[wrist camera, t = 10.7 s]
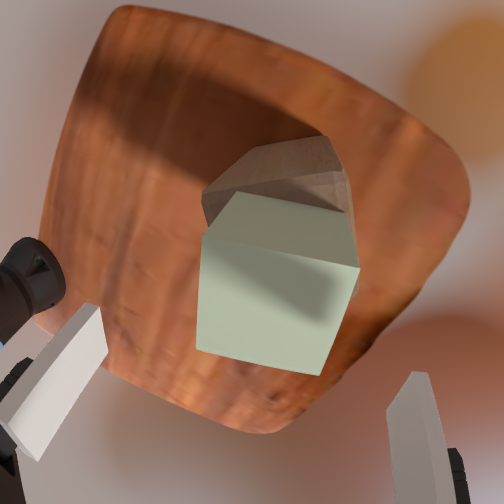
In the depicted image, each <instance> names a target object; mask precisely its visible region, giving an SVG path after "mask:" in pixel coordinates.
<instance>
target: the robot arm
mask: <svg viewBox="0 0 504 504" xmlns="http://www.w3.org/2000/svg"><path fill="white" fill-rule="evenodd" d="M65 289H66V286H65V279H64V275H63V272H62V270H61V267H60V265H59V263H58V261H57V260H56V258H55V257H54V255H53V254H52V253H51V251H50V250H49V249H48V248H47V247H46V246H45V245H44V244H43V243H41V242H40V241H38V240H36V239H34V238H31V237H25V238H22V239H20V240H19V241H17V242H16V243H15V244H14V245H13V246H12V247H11V249H10V251H9V252H8V253H7V255H6V256H5V257H4V259H3V260H2V262H1V263H0V349H2V348H3V347H4V345H5V344H6V343H7V342H8V341H9V340H10V339H11V338H12V336H13V335H14V334H15V333H16V332H17V331H18V330H19V329H20V328H21V327H22V326H23V325H24V324H25V323H26V322H27V321H28V320H29V319H30V318H31V317H32V316H33V315H35V314H38V313H40V312H42V311H45V310H47V309H49V308H52V307H54V306H55V305H57V304H58V303H59V302H60V301H61V300H62V298H63V297H64V295H65ZM107 354H108V348H107V344H106V339H105V334H104V329H103V323H102V318H101V312H100V307H99V306H95V305H92V304H89V303H86V302H85V303H84V304H83V305H82V306H81V307H80V308H79V309H78V311H77V312H76V313H75V314H74V315H73V316H72V317H71V318H70V319H69V321H68V322H67V323H66V324H65V325H64V326H63V327H62V328H61V330H60V331H59V332H58V333H57V334H56V335H55V336H54V338H53V339H52V340H51V341H50V342H49V343H48V344H47V346H46V347H45V348H44V349H43V350H42V352H41V353H40V354H39V355H38V356H37V357H36V359H35V360H32V359H30V358H28V357H27V358H25V359H24V360H22V361H20V362H19V363H17V364H16V365H15V367H14V368H13V369H12V370H11V372H10V374H8V375H7V376H6V377H5V379H4V381H2V382H1V384H0V504H26V501H25V496H24V492H23V488H22V482H21V477H20V472H19V466H18V460H17V454H16V451H15V449H16V447H17V446H18V447H19V448H20V449H21V450H22V452H23V453H25V454H26V455H28V456H29V457H31V458H33V459H34V460H36V461H39V459H40V457H41V456H42V454H43V453H44V451H45V449H46V447H47V446H48V444H49V443H50V441H51V439H52V438H53V436H54V435H55V433H56V431H57V430H58V428H59V427H60V425H61V423H62V422H63V420H64V419H65V417H66V415H67V414H68V412H69V411H70V409H71V408H72V406H73V404H74V403H75V401H76V400H77V398H78V397H79V395H80V394H81V392H82V391H83V389H84V388H85V386H86V385H87V383H88V382H89V380H90V379H91V377H92V375H93V374H94V373H95V371H96V370H97V368H98V367H99V365H100V364H101V362H102V361H103V359H104V358H105V356H106V355H107ZM386 416H387V423H388V432H389V440H390V449H391V459H392V471H393V483H394V499H395V504H471V502H470V496H469V490H468V485H467V481H466V474H465V472H464V470H465V469H464V465H463V460H462V457H461V456H460V454H459V452H458V451H457V449H456V448H448V449H447V447H446V442H445V438H444V433H443V429H442V425H441V420H440V416H439V413H438V409H437V405H436V401H435V398H434V394H433V390H432V387H431V383H430V380H429V376H428V373H424V372H412V373H411V374H410V376H409V377H408V379H407V380H406V382H405V383H404V385H403V386H402V388H401V390H400V391H399V393H398V394H397V395H396V397H395V398H394V400H393V401H392V403H391V404H390V405H389V407H388V408H387V410H386Z"/></svg>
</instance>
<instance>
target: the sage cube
mask: <svg viewBox="0 0 504 504" xmlns="http://www.w3.org/2000/svg"><path fill="white" fill-rule="evenodd" d="M360 269H361V268H360V264H359V260H358V256H357V252H356V248H355V244H354V240H353V236H352V232H351V229H350V225H349V221H348V218H347V214H346V213H342V212H338V211H333V210H329V209H324V208H319V207H315V206H310V205H305V204H300V203H295V202H291V201H286V200H281V199H275V198H270V197H265V196H260V195H255V194H249V193H244V192H239V191H237V192H236V193H235V194H234V195H233V197H232V198H231V199H230V201H229V202H228V203H227V204H226V206H225V207H224V208H223V210H222V211H221V212H220V213H219V215H218V216H217V217H216V219H215V220H214V221H213V223H212V224H211V225H210V227H209V228H208V229H207V231H206V232H205V233H204V234H203V236H202V248H201V262H200V277H199V294H198V312H197V333H196V349H197V350H201V351H205V352H209V353H212V354H216V355H221V356H225V357H229V358H233V359H237V360H242V361H246V362H251V363H255V364H260V365H265V366H270V367H274V368H279V369H285V370H290V371H295V372H301V373H306V374H312V375H318V376H319V375H320V373H321V370H322V368H323V366H324V363H325V361H326V359H327V356H328V354H329V351H330V349H331V347H332V344H333V342H334V339H335V337H336V334H337V332H338V329H339V326H340V324H341V321H342V319H343V316H344V313H345V311H346V308H347V305H348V303H349V300H350V297H351V294H352V292H353V289H354V286H355V283H356V280H357V277H358V274H359V271H360Z"/></svg>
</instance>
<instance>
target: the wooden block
mask: <svg viewBox="0 0 504 504" xmlns="http://www.w3.org/2000/svg"><path fill="white" fill-rule="evenodd" d="M237 191H239V192H244V193H249V194H255V195H260V196H265V197H270V198H275V199H281V200H286V201H291V202H295V203H300V204H305V205H310V206H315V207H319V208H324V209H329V210H333V211H338V212H342V213H346V214H347V218H348V221H349V225H350V229H351V232H352V236H353V240H354V244H355V248H356V252H357V256H358V251H357V240H356V231H355V221H354V213H353V204H352V197H351V189H350V182H349V177H348V175H347V173H346V171H345V168H344V166H343V164H342V162H341V160H340V158H339V156H338V154H337V152H336V150H335V148H334V146H333V144H332V142H331V141H330V139H329V138H328V137H327V136H323V135H320V136H313V137H307V138H301V139H295V140H289V141H283V142H278V143H272V144H267V145H262V146H257V147H254V148H252V149H251V150H249V151H248V152H247V153H246V154H245V155H243V156H242V157H241V158H240V159H239V160H238V161H236V162H235V163H234V164H233V165H232V166H231V167H229V168H228V169H227V170H226V171H225V172H224V173H223V174H221V175H220V176H219V177H218V178H217V179H216V180H215V181H214V182H212V183H211V184H210V185H209V186H208V187H207V188H206V189H205V190H203V191H202V199H201V203H202V206H203V210H204V213H205V217H206V220H207V224H208V227H210V225H211V224H212V223H213V221H214V220H215V219H216V217H217V216H218V215H219V213H220V212H221V211H222V210H223V208H224V207H225V206H226V204H227V203H228V202H229V201H230V199H231V198H232V197H233V195H234V194H235V193H236V192H237ZM359 287H360V275H359V274H358V277H357V280H356V283H355V286H354V289H353V292H352V294H351V297H350V299H351V298H354V297H356V294H357V292H358V289H359Z"/></svg>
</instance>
